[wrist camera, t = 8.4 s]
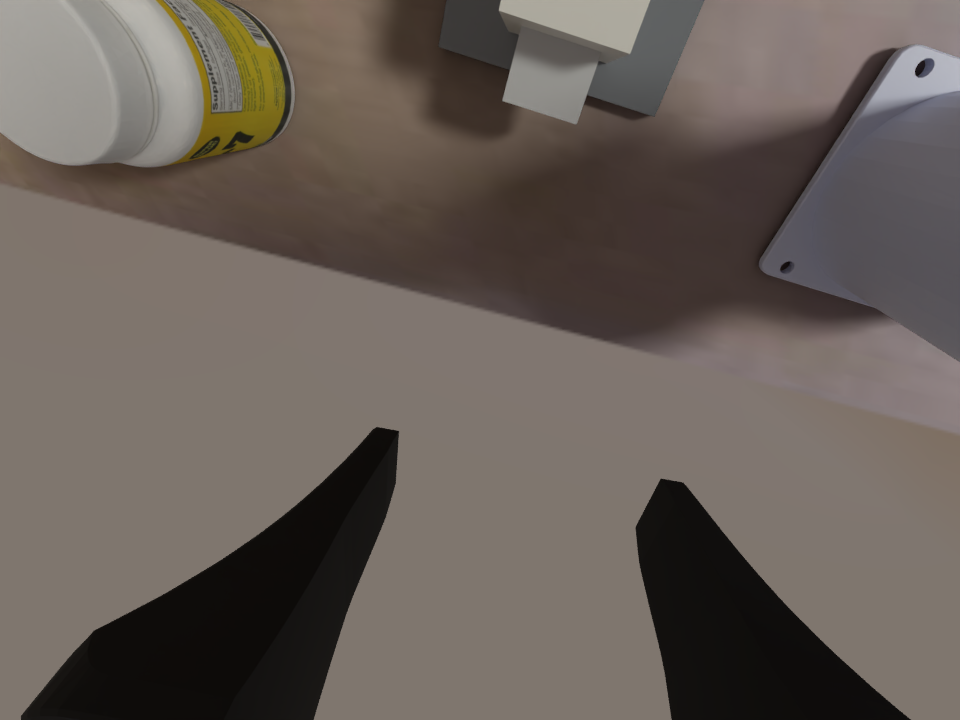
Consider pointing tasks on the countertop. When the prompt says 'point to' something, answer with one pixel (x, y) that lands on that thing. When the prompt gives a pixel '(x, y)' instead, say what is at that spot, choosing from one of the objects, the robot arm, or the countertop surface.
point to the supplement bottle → (139, 80)
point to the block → (565, 49)
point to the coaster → (620, 82)
